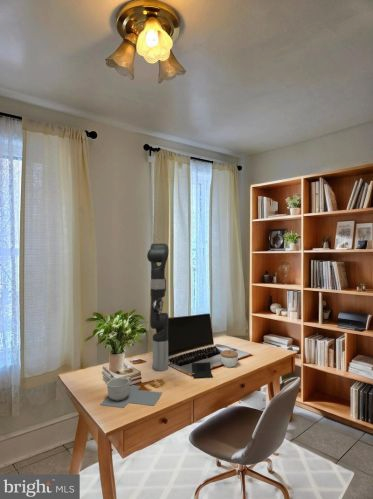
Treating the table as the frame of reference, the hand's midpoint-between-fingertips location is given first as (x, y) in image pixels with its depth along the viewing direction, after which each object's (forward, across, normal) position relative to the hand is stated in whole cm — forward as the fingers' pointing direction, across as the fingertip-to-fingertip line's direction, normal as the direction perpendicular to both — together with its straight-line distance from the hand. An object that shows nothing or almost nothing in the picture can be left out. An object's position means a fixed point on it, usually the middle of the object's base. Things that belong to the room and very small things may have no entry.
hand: (157, 320), depth 164 cm
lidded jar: (+35, -37, +34) cm, 61 cm away
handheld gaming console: (+35, -20, +20) cm, 45 cm away
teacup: (+35, +14, -15) cm, 40 cm away
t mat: (+35, +12, -8) cm, 38 cm away
